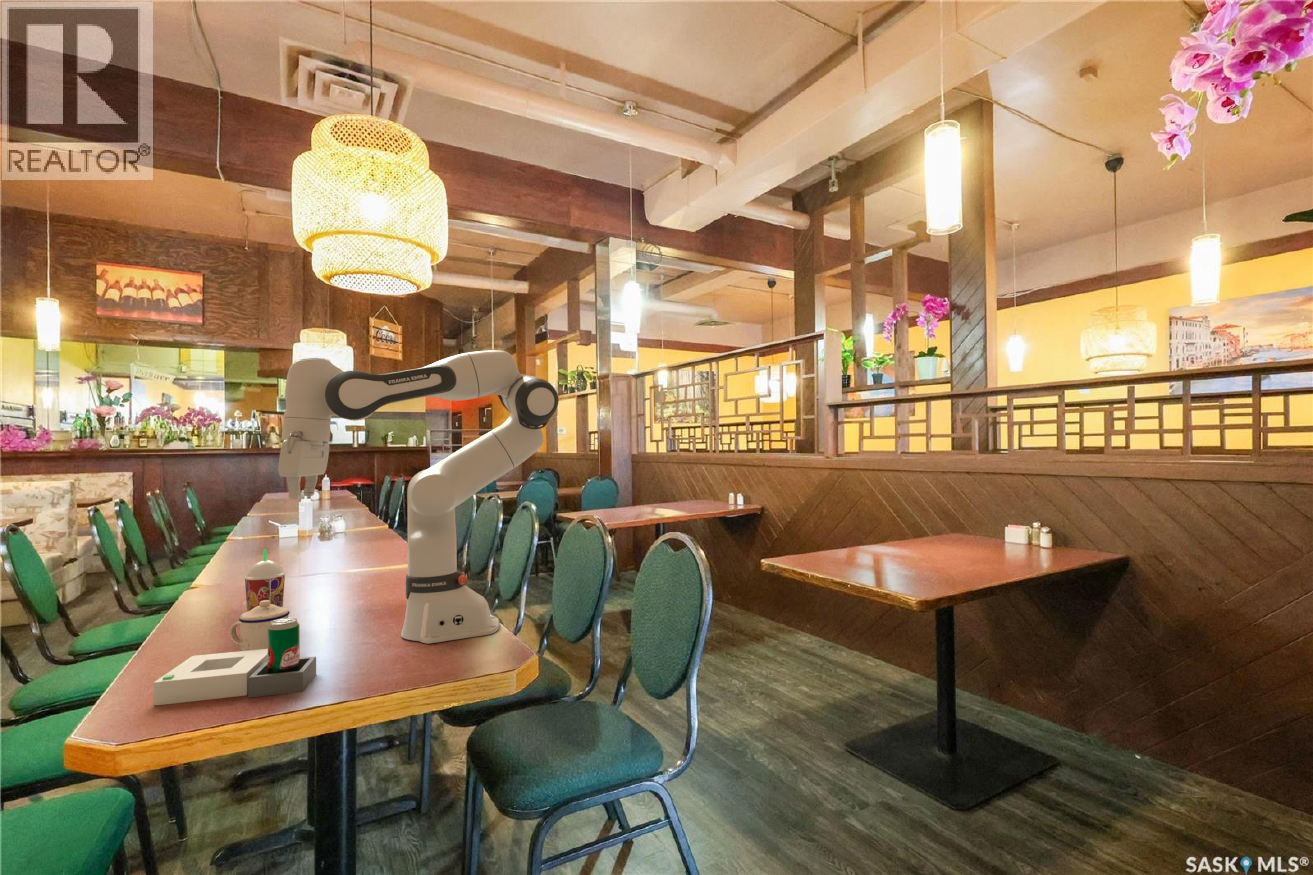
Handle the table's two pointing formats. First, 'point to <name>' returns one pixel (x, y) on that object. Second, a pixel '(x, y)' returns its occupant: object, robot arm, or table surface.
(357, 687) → the table surface
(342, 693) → the table surface
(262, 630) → the teacup with lid
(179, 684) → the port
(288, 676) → the grey square tray
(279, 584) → the smoothie
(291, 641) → the soda can
